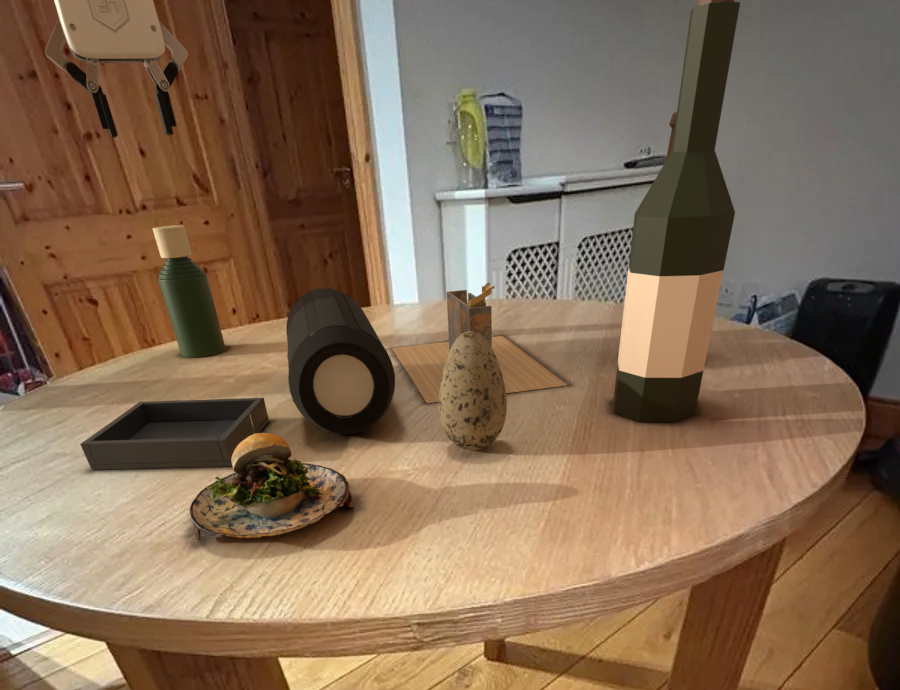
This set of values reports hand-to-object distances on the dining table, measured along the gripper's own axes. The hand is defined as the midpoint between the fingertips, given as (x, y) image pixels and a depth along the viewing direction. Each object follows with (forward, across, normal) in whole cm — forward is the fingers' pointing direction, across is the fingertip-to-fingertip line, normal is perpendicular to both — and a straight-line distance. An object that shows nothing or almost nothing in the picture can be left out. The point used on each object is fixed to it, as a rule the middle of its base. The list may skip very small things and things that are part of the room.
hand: (141, 134), depth 73 cm
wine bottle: (+26, +36, -56) cm, 71 cm away
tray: (+26, -7, -37) cm, 46 cm away
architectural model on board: (+26, +29, -30) cm, 49 cm away
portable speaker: (+26, +10, -35) cm, 44 cm away
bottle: (+26, 0, 0) cm, 26 cm away
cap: (+13, 0, 0) cm, 13 cm away
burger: (+26, -3, -57) cm, 63 cm away
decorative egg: (+26, +16, -54) cm, 62 cm away
